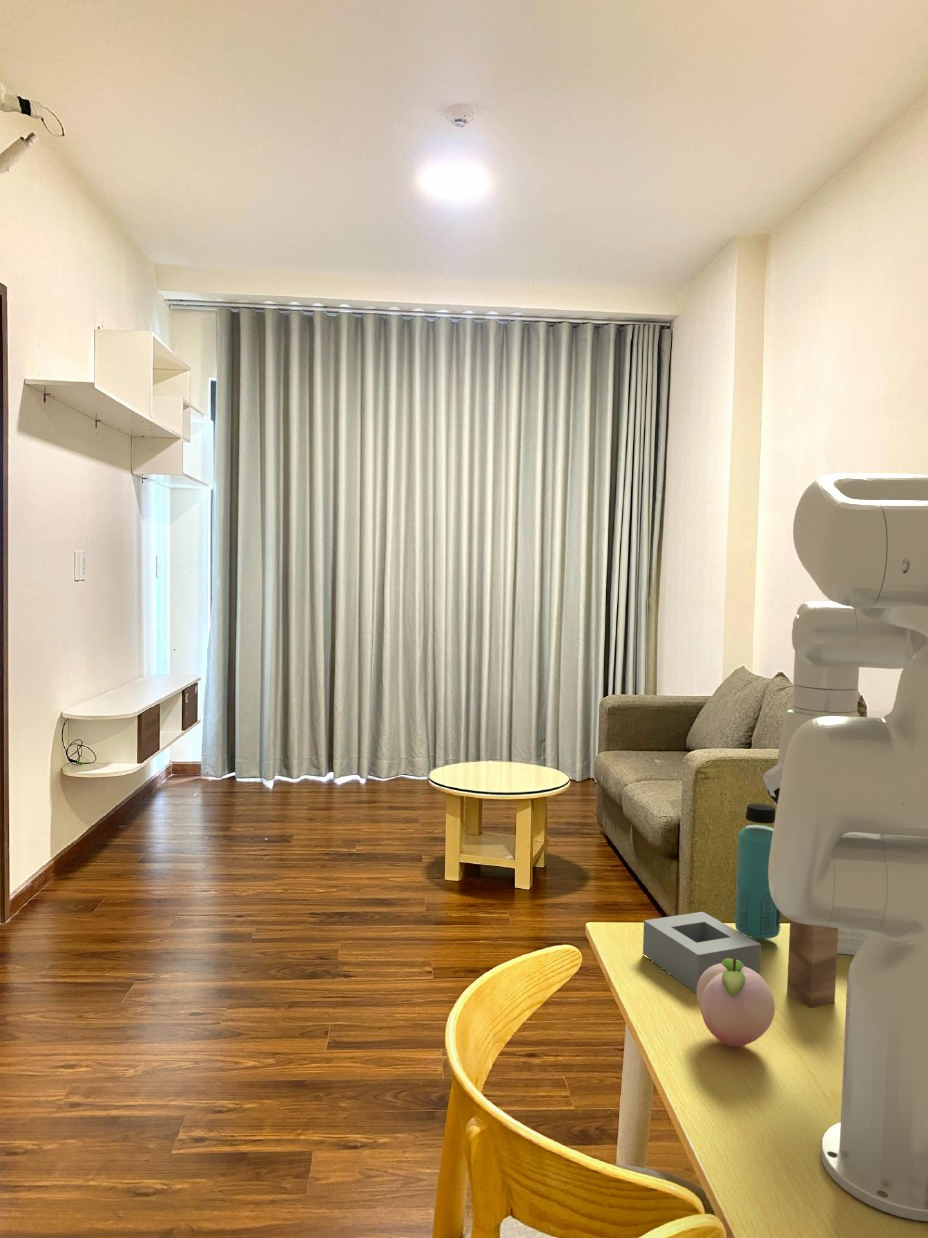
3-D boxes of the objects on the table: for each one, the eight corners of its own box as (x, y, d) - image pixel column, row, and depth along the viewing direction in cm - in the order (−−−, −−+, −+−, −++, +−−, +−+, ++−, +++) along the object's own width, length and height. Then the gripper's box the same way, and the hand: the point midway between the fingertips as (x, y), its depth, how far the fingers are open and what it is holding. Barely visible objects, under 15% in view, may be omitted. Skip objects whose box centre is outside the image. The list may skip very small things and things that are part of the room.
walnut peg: (834, 1003, 113) (839, 908, 112) (810, 1008, 111) (814, 912, 111) (811, 989, 117) (815, 898, 116) (786, 994, 115) (791, 901, 115)
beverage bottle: (783, 951, 128) (789, 812, 127) (734, 946, 130) (740, 809, 129) (776, 934, 135) (782, 801, 134) (730, 929, 136) (736, 798, 135)
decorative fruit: (781, 1071, 97) (785, 980, 96) (703, 1065, 98) (707, 974, 97) (761, 1027, 106) (765, 944, 106) (690, 1022, 107) (693, 940, 107)
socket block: (759, 981, 118) (760, 944, 118) (696, 993, 115) (698, 955, 114) (701, 946, 129) (702, 911, 129) (642, 955, 126) (644, 920, 125)
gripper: (853, 694, 119) (846, 821, 120) (748, 698, 112) (742, 834, 113) (900, 702, 112) (893, 838, 113) (792, 708, 105) (785, 852, 106)
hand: (818, 836), depth 113 cm, fingers open, 9 cm apart
